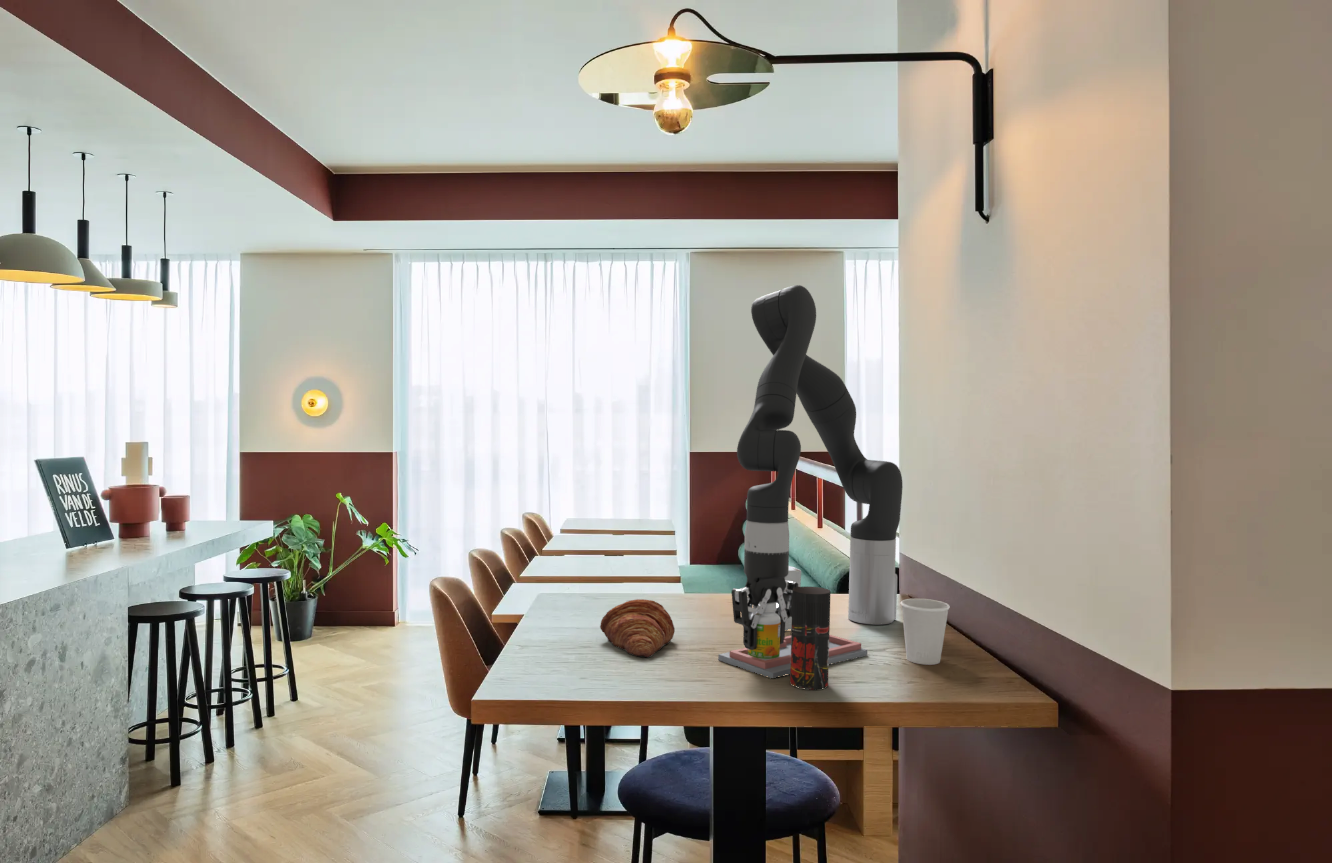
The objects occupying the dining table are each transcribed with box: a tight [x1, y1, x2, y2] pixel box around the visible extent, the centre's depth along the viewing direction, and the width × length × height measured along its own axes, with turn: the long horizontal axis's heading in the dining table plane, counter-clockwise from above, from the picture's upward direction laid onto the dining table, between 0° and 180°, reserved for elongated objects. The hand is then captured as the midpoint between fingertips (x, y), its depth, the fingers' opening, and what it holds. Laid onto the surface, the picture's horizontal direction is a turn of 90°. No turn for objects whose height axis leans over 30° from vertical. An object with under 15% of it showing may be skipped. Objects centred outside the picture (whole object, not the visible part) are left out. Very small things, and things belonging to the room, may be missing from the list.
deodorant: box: [789, 586, 831, 691], centre depth 140 cm, size 6×6×15 cm
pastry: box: [599, 598, 676, 659], centre depth 164 cm, size 17×15×8 cm
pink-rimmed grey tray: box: [717, 634, 868, 679], centre depth 155 cm, size 24×13×2 cm, turn 129°
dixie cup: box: [900, 598, 951, 666], centre depth 156 cm, size 8×8×10 cm
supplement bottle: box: [748, 602, 781, 661], centre depth 151 cm, size 5×5×10 cm
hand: (764, 645), depth 151 cm, fingers open, 6 cm apart
